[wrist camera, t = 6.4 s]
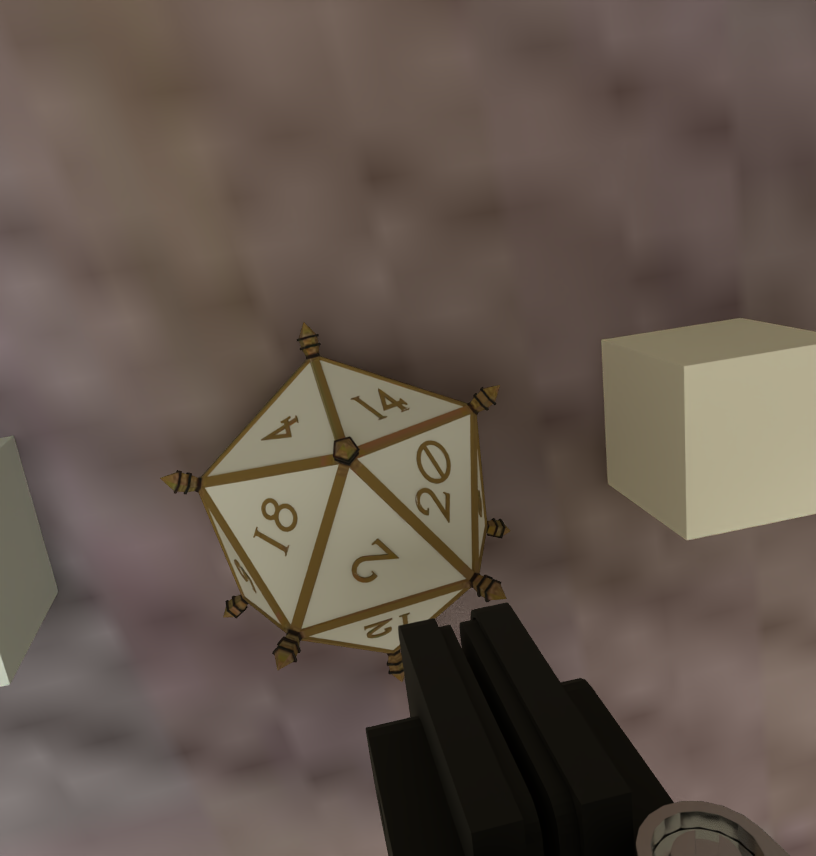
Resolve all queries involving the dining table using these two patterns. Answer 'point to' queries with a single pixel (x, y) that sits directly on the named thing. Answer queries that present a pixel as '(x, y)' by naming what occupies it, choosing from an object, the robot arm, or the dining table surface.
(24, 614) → the grey-green block
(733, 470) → the off-white block
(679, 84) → the dining table surface
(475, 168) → the dining table surface
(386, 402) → the game die
